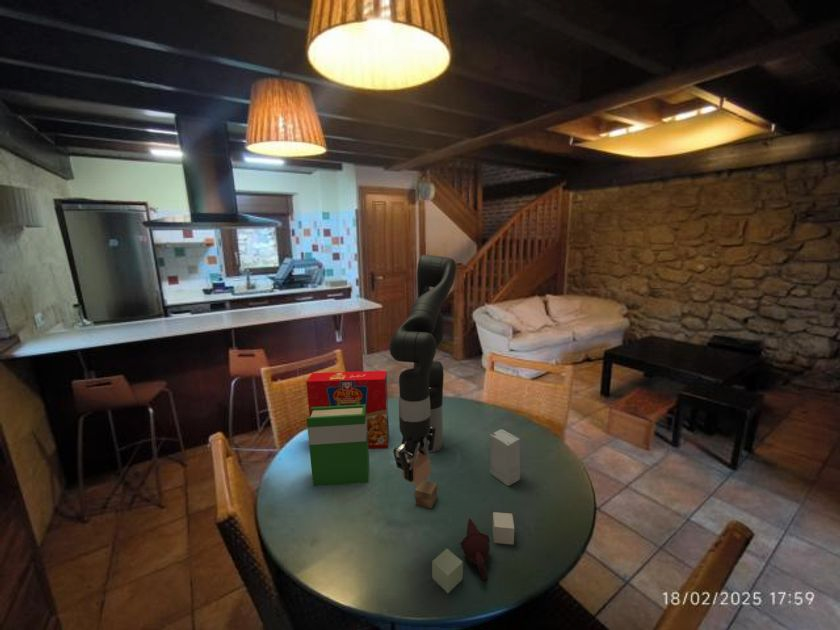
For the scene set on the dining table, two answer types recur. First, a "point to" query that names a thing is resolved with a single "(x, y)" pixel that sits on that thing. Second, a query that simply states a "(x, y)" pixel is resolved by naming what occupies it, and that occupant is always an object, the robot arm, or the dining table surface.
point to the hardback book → (338, 445)
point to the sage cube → (447, 570)
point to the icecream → (476, 547)
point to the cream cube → (503, 528)
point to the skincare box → (505, 457)
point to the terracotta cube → (420, 468)
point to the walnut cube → (426, 494)
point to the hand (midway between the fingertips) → (416, 473)
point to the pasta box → (355, 398)
